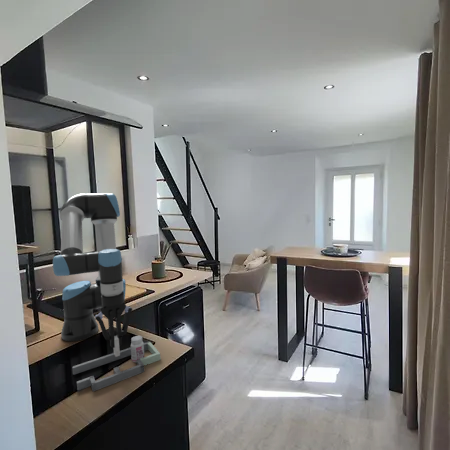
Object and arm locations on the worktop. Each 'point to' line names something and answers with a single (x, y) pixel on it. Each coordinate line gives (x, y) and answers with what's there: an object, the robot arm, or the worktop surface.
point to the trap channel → (117, 374)
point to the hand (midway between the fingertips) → (116, 354)
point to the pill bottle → (137, 348)
